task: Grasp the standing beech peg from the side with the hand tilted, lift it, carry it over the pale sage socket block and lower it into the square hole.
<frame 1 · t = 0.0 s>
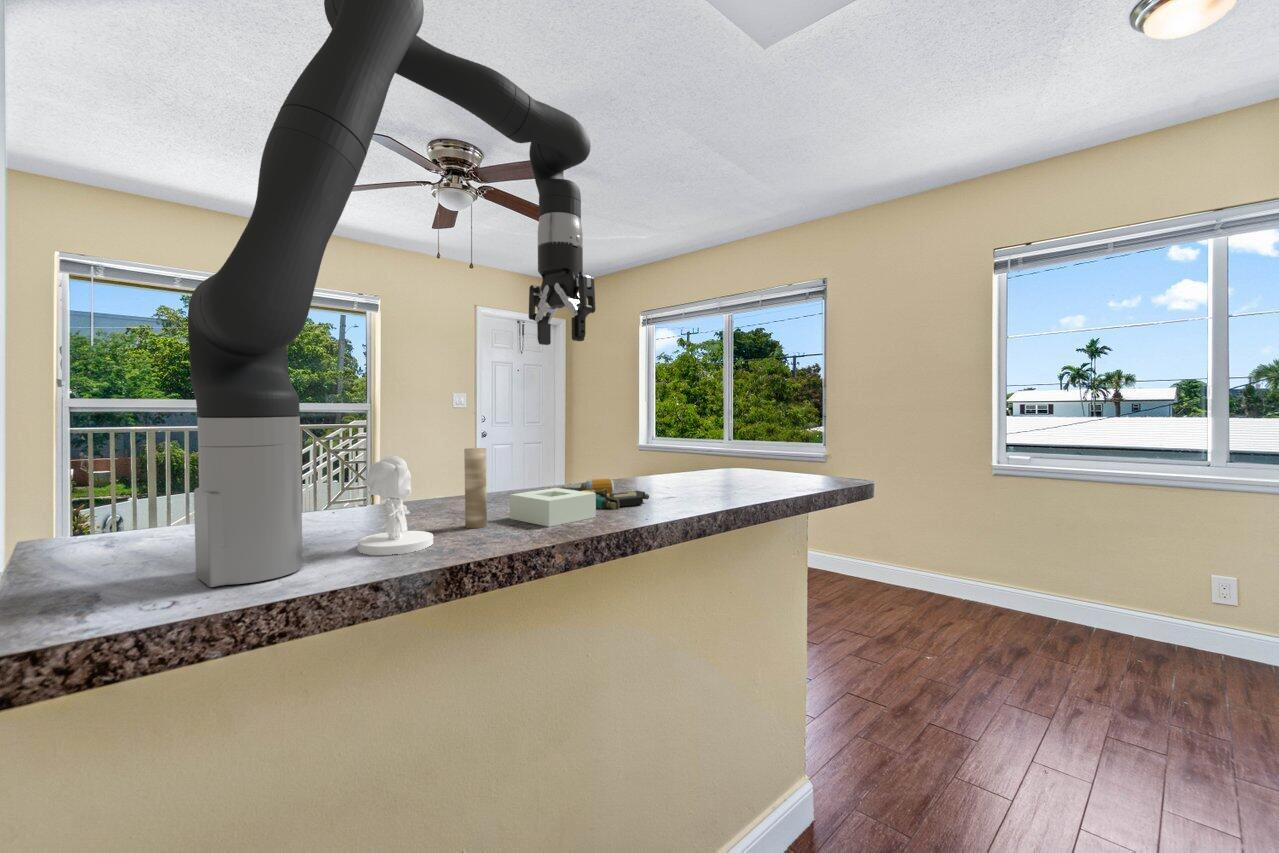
hand: (560, 342, 95), 29 cm above the counter, fingers open, 8 cm apart
peg: (476, 526, 87), on the counter
figurine: (396, 548, 74), on the counter
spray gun: (599, 505, 109), on the counter
socket block: (553, 517, 93), on the counter
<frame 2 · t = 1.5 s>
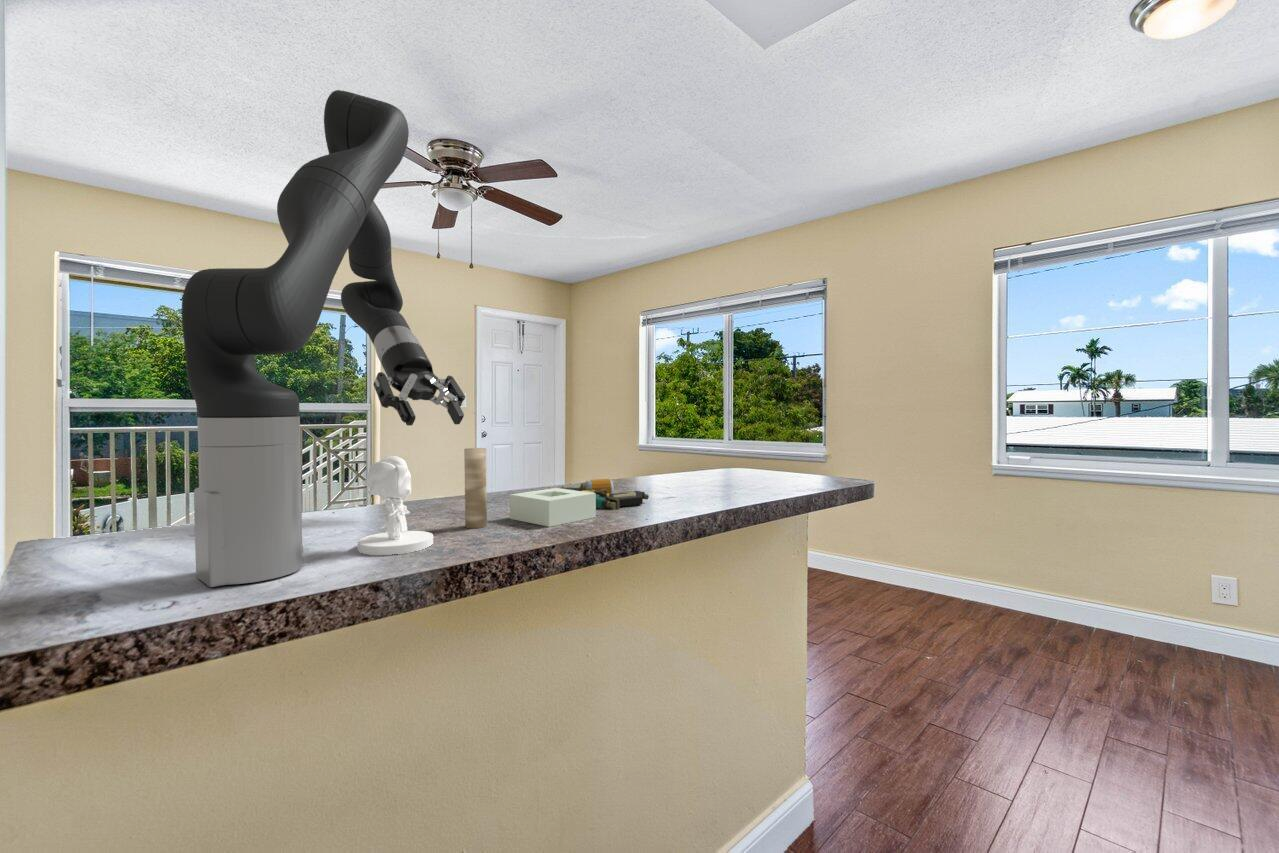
hand: (436, 421, 94), 16 cm above the counter, fingers open, 8 cm apart
nothing on the counter moved.
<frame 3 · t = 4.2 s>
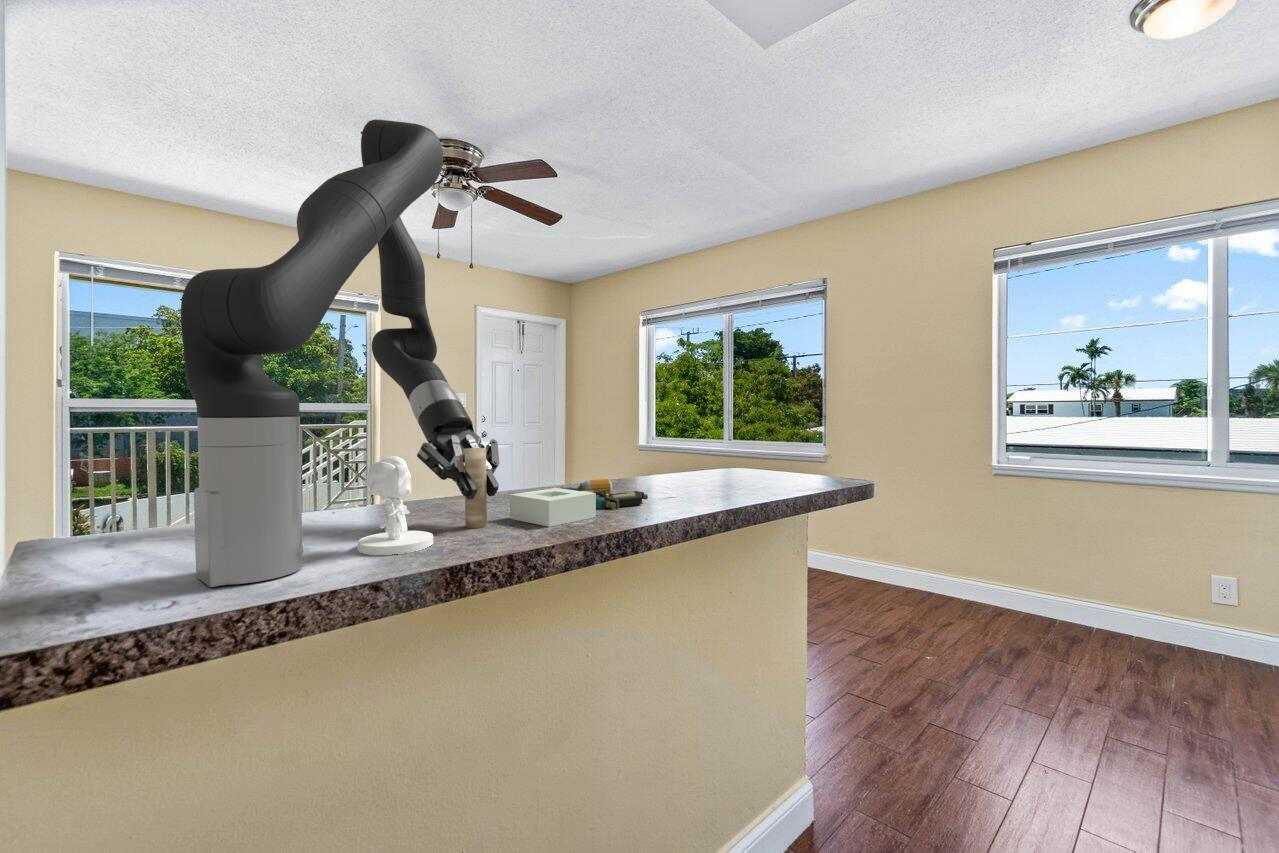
hand: (483, 493, 85), 5 cm above the counter, fingers closed on peg, 3 cm apart
peg: (476, 526, 87), on the counter, touching gripper
everything else where it was.
when the fingers open (8 cm above the counter, at t = 9.3 s): peg drops 2 cm, resting in socket block.
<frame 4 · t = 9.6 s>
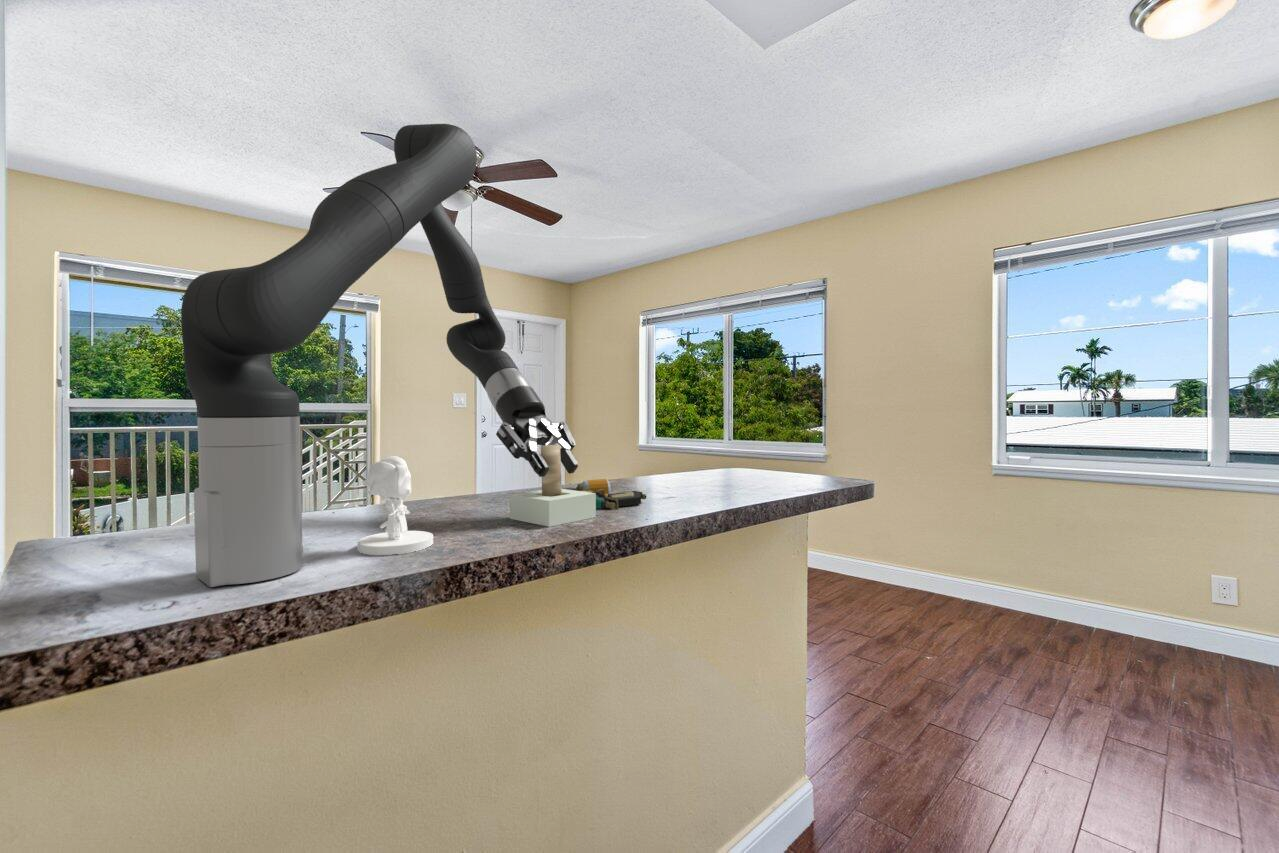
hand: (559, 471, 92), 8 cm above the counter, fingers open, 5 cm apart
peg: (552, 517, 93), resting in socket block
everything else where it was.
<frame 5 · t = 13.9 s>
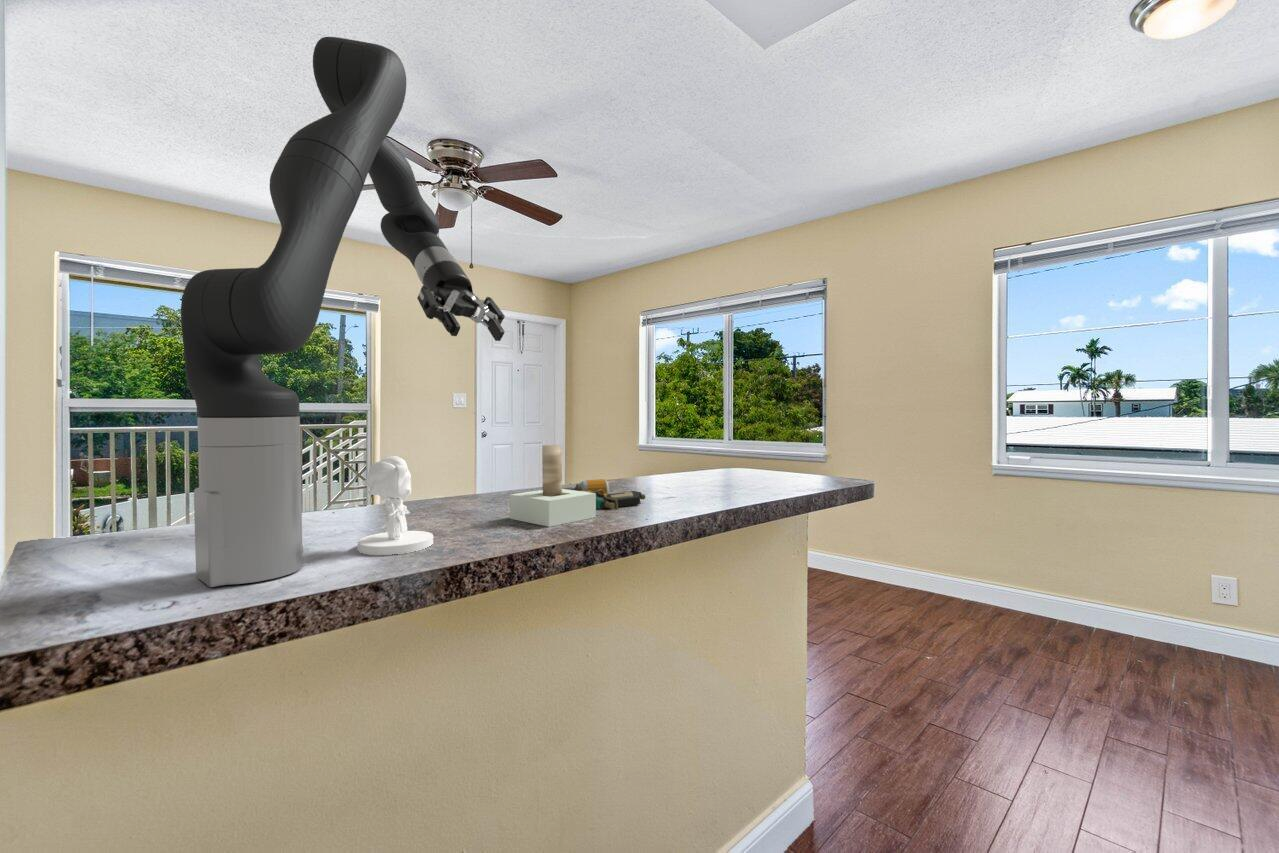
hand: (479, 334, 95), 31 cm above the counter, fingers open, 8 cm apart
nothing on the counter moved.
at the end: peg 0.1 cm off-centre on the socket block, point 0.0 cm above the socket block's base; peg tilted 0°; the gripper is holding nothing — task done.
